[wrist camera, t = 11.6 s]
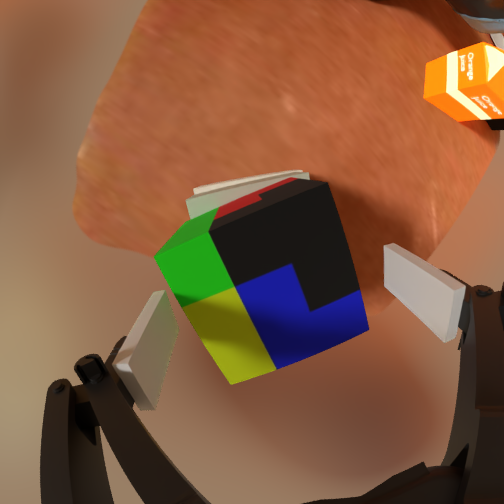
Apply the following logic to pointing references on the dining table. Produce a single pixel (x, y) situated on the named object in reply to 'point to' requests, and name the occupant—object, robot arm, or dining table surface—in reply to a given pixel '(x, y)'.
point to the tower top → (232, 193)
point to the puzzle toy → (266, 278)
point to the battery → (496, 123)
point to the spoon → (498, 40)
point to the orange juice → (468, 83)
